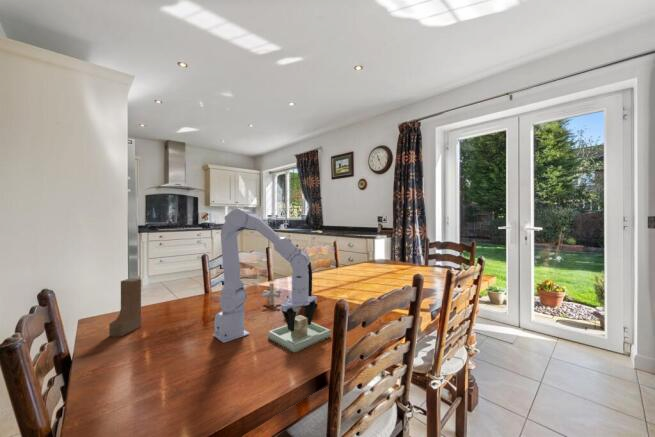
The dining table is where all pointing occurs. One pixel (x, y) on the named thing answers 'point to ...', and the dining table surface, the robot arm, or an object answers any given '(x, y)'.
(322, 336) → the sorting tray
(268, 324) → the dining table surface
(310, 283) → the portable speaker
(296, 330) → the maple block
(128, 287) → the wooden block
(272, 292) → the pipe connector
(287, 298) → the game die
